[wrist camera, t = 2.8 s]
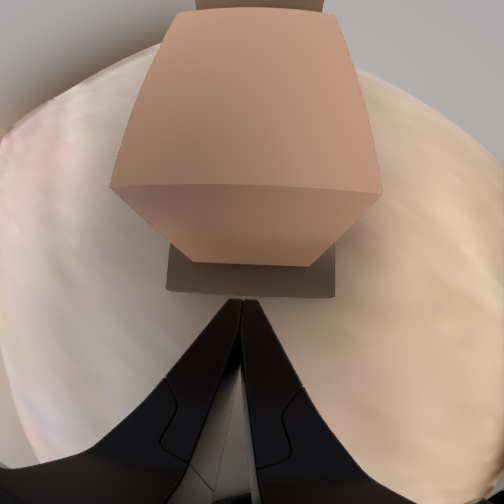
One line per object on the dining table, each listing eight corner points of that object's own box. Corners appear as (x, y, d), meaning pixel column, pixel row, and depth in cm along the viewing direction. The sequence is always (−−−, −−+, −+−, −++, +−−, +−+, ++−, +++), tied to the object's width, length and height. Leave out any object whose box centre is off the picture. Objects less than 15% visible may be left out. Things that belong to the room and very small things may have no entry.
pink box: (309, 266, 14) (382, 194, 5) (193, 262, 14) (109, 187, 6) (305, 137, 16) (334, 14, 7) (208, 134, 16) (178, 12, 7)
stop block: (329, 297, 15) (413, 274, 6) (171, 291, 15) (80, 261, 7) (314, 75, 19) (332, -14, 10) (205, 72, 19) (188, -17, 10)
